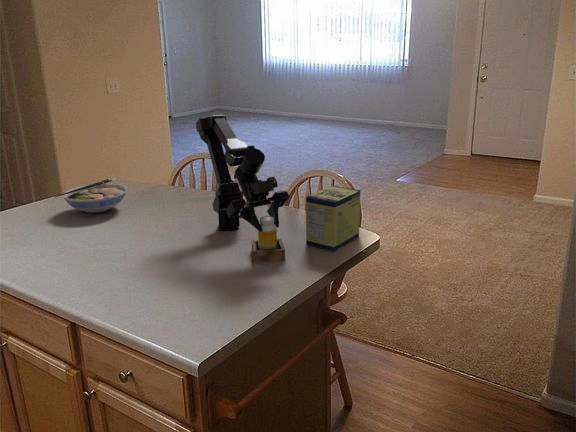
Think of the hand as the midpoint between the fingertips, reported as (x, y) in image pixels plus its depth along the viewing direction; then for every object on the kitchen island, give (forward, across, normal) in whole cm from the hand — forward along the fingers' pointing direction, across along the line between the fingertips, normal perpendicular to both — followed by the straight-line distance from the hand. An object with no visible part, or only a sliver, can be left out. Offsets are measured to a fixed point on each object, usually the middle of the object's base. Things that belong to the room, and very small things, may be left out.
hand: (269, 229), depth 151 cm
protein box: (+7, +23, +6) cm, 24 cm away
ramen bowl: (-46, -30, +60) cm, 81 cm away
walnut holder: (+5, 0, +7) cm, 9 cm away
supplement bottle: (+4, 0, +6) cm, 7 cm away
